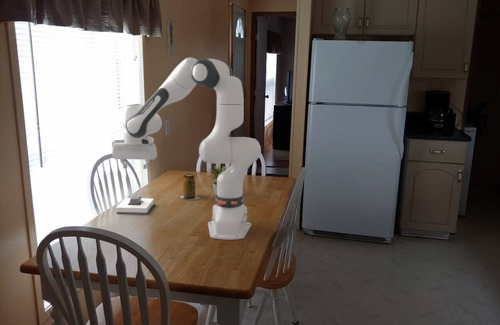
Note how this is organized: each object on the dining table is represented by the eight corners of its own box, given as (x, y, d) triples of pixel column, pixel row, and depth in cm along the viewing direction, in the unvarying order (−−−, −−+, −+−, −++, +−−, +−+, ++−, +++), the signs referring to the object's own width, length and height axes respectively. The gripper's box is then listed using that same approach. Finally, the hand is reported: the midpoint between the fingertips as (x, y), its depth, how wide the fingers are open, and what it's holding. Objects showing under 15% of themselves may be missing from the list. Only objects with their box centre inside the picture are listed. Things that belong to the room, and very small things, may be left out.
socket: (146, 214, 205) (146, 208, 204) (116, 213, 205) (116, 207, 204) (153, 204, 218) (153, 198, 218) (125, 203, 218) (125, 197, 218)
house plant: (229, 200, 226) (229, 169, 222) (203, 198, 229) (203, 167, 225) (235, 192, 240) (236, 163, 236) (211, 190, 242) (211, 161, 238)
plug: (138, 209, 209) (138, 199, 208) (130, 208, 209) (129, 198, 208) (141, 205, 214) (141, 195, 213) (133, 205, 214) (132, 195, 213)
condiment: (191, 194, 235) (191, 172, 232) (200, 198, 229) (200, 176, 226) (179, 196, 230) (179, 174, 228) (188, 201, 224) (188, 178, 221)
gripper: (109, 140, 202) (111, 169, 205) (154, 140, 201) (155, 170, 205) (113, 137, 208) (115, 166, 211) (157, 138, 208) (158, 167, 211)
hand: (135, 168), depth 208 cm, fingers open, 8 cm apart
